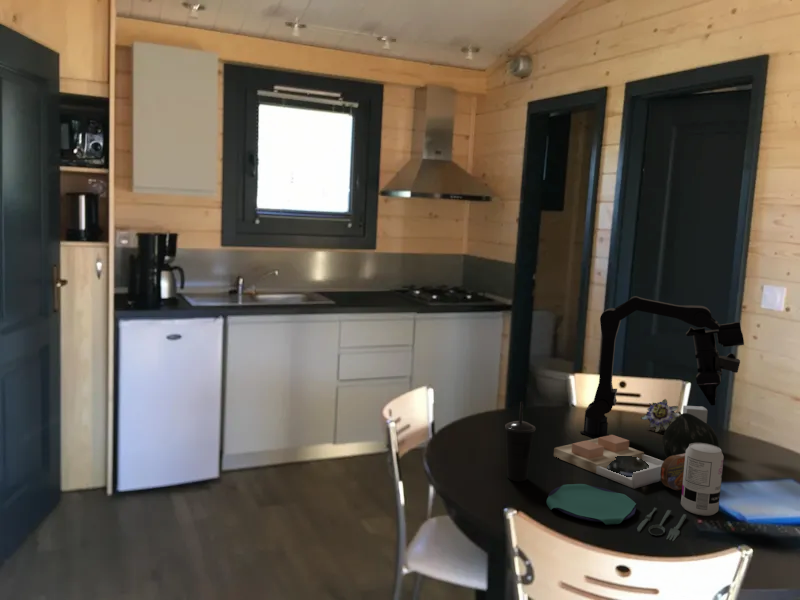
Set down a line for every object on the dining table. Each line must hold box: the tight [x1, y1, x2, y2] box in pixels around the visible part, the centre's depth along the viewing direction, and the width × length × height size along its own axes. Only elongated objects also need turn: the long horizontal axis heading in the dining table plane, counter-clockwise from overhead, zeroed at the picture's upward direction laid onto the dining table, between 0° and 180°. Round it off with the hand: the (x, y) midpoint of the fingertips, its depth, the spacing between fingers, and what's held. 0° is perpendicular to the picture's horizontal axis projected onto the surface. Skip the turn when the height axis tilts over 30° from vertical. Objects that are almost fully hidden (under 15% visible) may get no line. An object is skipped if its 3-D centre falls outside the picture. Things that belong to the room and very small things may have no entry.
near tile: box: [571, 440, 604, 459], centre depth 197 cm, size 6×6×2 cm
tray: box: [595, 453, 665, 490], centre depth 190 cm, size 12×20×4 cm, turn 125°
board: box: [553, 438, 645, 474], centre depth 201 cm, size 15×20×2 cm
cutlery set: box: [546, 483, 687, 542], centre depth 164 cm, size 20×30×2 cm, turn 56°
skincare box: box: [682, 405, 708, 424], centre depth 215 cm, size 6×4×12 cm
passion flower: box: [640, 398, 682, 433], centre depth 231 cm, size 11×11×12 cm
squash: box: [662, 412, 720, 458], centre depth 200 cm, size 14×15×15 cm
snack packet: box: [660, 453, 685, 491], centre depth 182 cm, size 15×3×8 cm, turn 117°
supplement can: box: [680, 443, 725, 516], centre depth 167 cm, size 8×8×15 cm
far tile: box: [598, 434, 630, 452], centre depth 203 cm, size 6×6×2 cm
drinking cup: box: [504, 401, 536, 482], centre depth 182 cm, size 8×8×20 cm
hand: (713, 401), depth 209 cm, fingers open, 9 cm apart
